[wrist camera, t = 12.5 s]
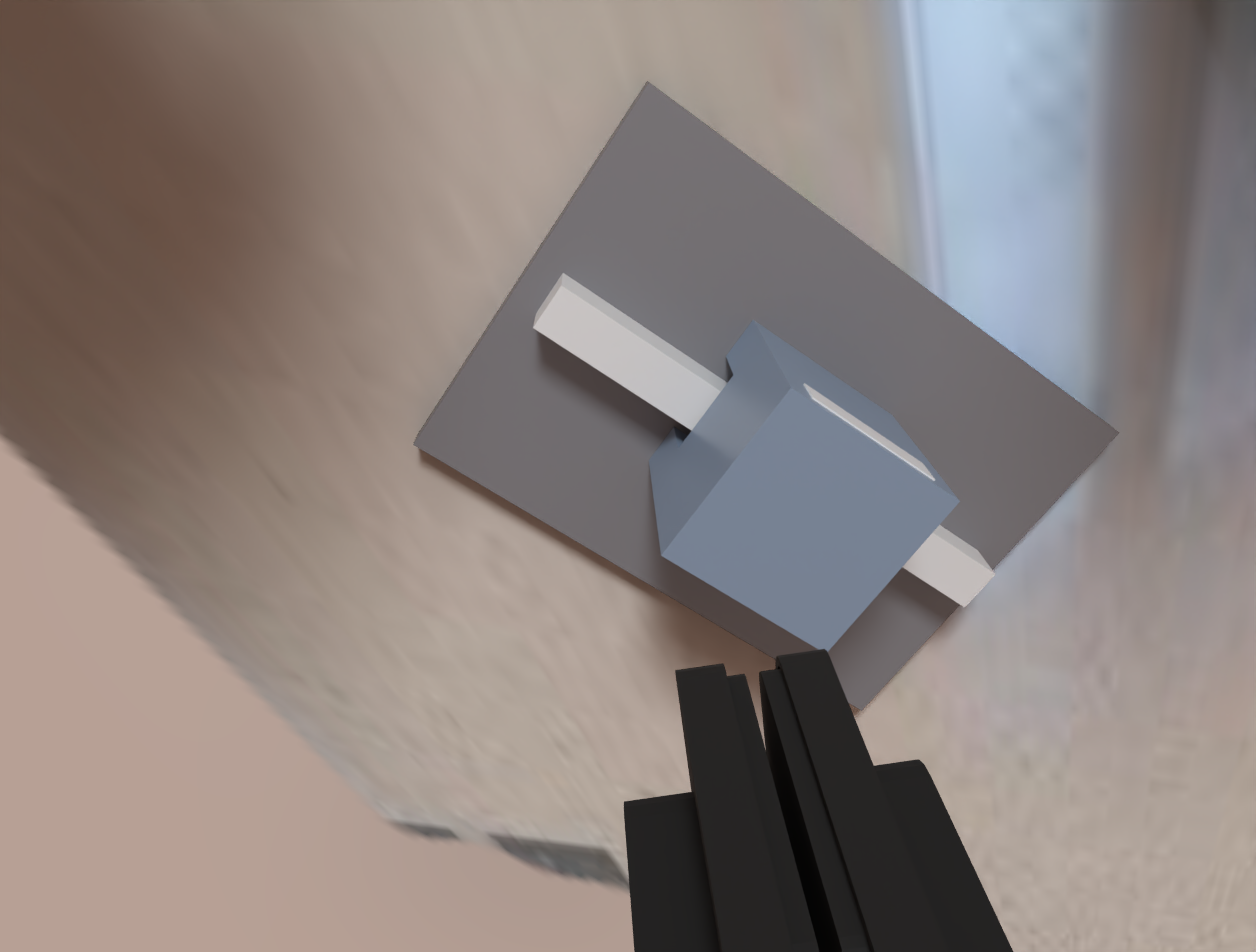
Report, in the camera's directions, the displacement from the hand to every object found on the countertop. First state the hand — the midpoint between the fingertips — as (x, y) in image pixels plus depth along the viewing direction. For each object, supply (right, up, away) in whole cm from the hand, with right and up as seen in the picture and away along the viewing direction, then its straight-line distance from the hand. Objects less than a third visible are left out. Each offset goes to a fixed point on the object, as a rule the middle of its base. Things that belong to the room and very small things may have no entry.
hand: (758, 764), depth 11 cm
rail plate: (+3, +5, +24) cm, 25 cm away
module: (+3, +5, +24) cm, 24 cm away
